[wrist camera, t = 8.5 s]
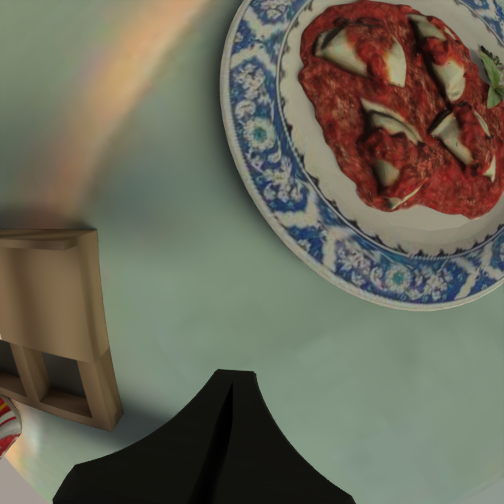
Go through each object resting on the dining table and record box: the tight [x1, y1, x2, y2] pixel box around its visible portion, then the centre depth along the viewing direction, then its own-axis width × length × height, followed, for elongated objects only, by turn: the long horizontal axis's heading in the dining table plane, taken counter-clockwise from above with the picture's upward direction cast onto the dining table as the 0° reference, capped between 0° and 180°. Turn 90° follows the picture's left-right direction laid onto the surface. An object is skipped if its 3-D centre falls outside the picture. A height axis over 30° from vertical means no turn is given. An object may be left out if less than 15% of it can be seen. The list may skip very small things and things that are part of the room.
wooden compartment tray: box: [0, 229, 123, 432], centre depth 19 cm, size 15×15×4 cm
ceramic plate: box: [220, 0, 504, 311], centre depth 15 cm, size 26×26×3 cm
